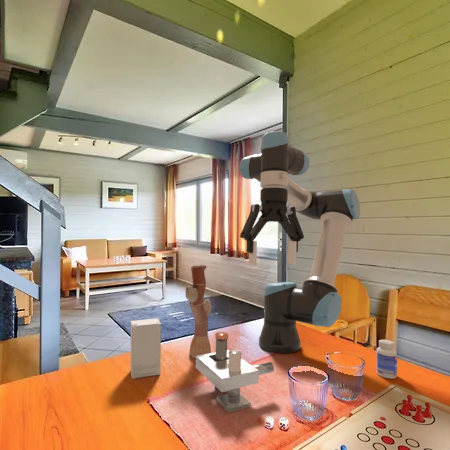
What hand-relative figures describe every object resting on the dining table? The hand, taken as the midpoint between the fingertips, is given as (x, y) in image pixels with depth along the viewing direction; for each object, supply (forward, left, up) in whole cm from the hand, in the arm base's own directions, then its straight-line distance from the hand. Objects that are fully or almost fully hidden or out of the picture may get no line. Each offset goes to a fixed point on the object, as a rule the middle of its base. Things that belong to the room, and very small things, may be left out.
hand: (273, 264), depth 86 cm
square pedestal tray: (0, -11, -32) cm, 34 cm away
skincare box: (-21, -29, -33) cm, 48 cm away
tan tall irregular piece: (-26, -10, -33) cm, 43 cm away
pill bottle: (+11, +34, -33) cm, 48 cm away
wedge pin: (-4, -14, -32) cm, 35 cm away
